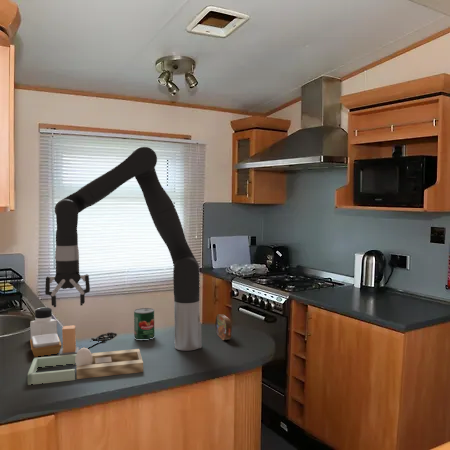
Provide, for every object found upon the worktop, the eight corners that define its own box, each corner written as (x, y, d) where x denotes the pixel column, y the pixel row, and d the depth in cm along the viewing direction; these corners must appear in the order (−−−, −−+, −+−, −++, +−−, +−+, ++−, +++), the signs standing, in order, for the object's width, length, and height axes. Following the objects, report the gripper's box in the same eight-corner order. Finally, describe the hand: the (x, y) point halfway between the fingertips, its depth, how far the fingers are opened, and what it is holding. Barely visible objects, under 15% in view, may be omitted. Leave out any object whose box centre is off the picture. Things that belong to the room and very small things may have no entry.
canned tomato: (146, 342, 175) (145, 313, 175) (130, 339, 179) (129, 311, 178) (158, 336, 182) (158, 309, 182) (143, 333, 186) (142, 307, 185)
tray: (76, 362, 153) (76, 354, 153) (74, 380, 139) (74, 370, 139) (34, 367, 150) (34, 358, 150) (27, 385, 135) (27, 375, 135)
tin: (214, 332, 188) (214, 311, 187) (222, 331, 189) (222, 311, 188) (225, 343, 173) (225, 321, 173) (233, 342, 174) (233, 320, 174)
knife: (75, 356, 161) (75, 352, 161) (61, 354, 164) (61, 350, 164) (121, 336, 184) (120, 333, 184) (108, 334, 187) (108, 331, 187)
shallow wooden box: (139, 357, 158) (139, 348, 158) (143, 371, 145) (143, 362, 145) (78, 363, 153) (78, 354, 153) (76, 379, 140) (76, 369, 139)
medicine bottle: (57, 337, 182) (56, 307, 181) (41, 342, 176) (41, 311, 175) (46, 334, 186) (45, 305, 185) (30, 339, 180) (29, 309, 179)
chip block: (111, 365, 152) (111, 356, 151) (112, 370, 147) (111, 361, 147) (95, 367, 150) (95, 358, 150) (95, 372, 145) (95, 363, 145)
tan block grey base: (79, 355, 161) (78, 324, 161) (78, 360, 155) (77, 328, 155) (61, 356, 160) (60, 325, 159) (59, 362, 154) (58, 330, 153)
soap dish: (62, 355, 162) (61, 341, 161) (31, 359, 157) (31, 345, 157) (58, 345, 173) (58, 332, 173) (30, 349, 169) (29, 335, 168)
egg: (94, 366, 150) (93, 344, 149) (91, 372, 144) (90, 349, 144) (77, 367, 149) (76, 345, 149) (73, 373, 144) (73, 350, 143)
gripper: (89, 256, 161) (90, 302, 162) (45, 258, 157) (47, 304, 158) (89, 259, 154) (90, 307, 155) (43, 260, 150) (44, 309, 151)
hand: (68, 305), depth 156 cm, fingers open, 8 cm apart
